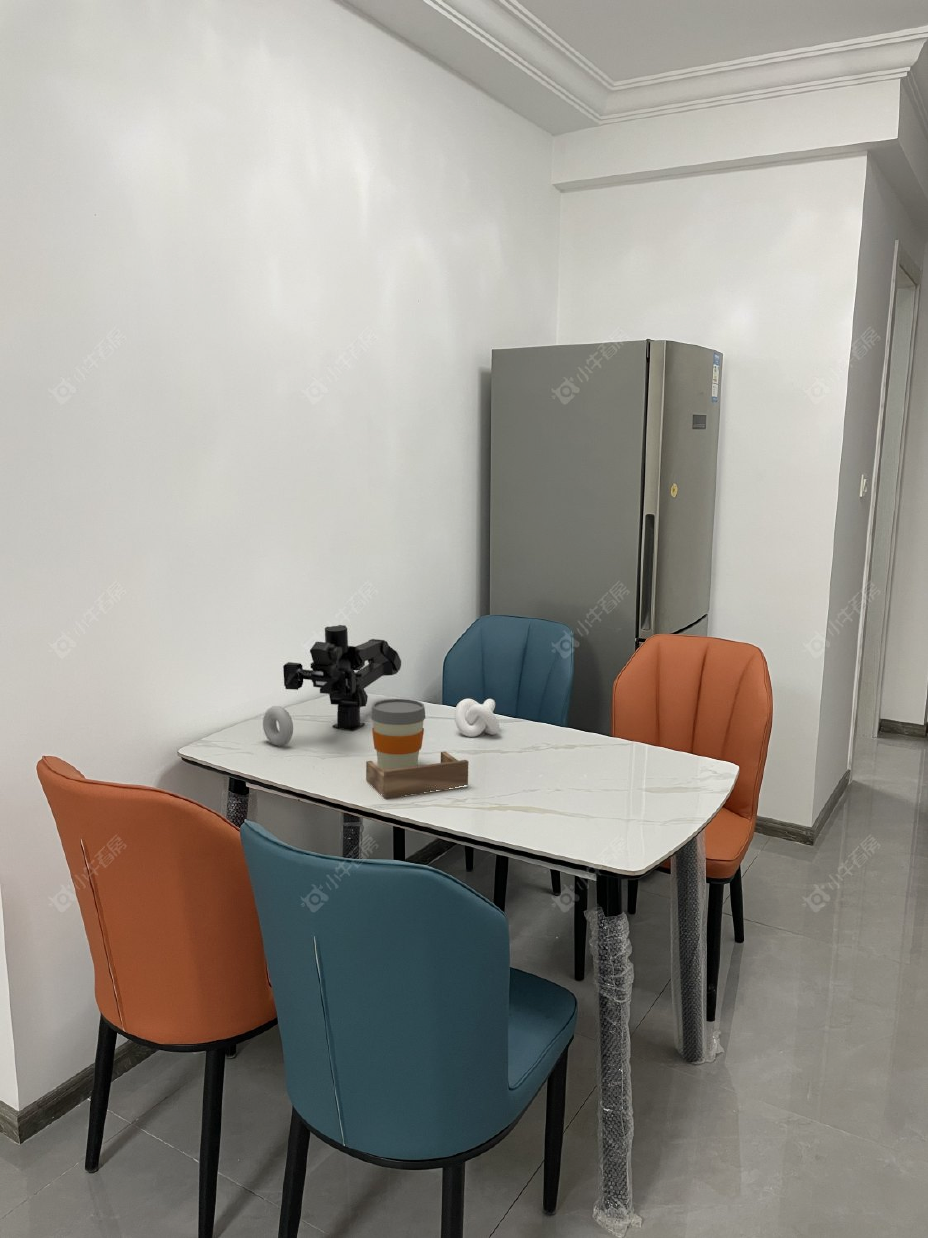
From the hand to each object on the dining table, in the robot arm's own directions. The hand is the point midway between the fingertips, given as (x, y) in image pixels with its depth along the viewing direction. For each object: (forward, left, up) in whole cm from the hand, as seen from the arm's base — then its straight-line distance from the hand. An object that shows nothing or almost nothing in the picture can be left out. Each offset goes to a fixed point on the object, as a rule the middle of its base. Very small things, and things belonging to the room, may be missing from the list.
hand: (303, 689), depth 225 cm
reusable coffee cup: (-3, +24, -17) cm, 30 cm away
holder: (+5, +33, -16) cm, 37 cm away
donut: (-3, -10, -17) cm, 19 cm away
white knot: (-36, +29, -17) cm, 49 cm away
